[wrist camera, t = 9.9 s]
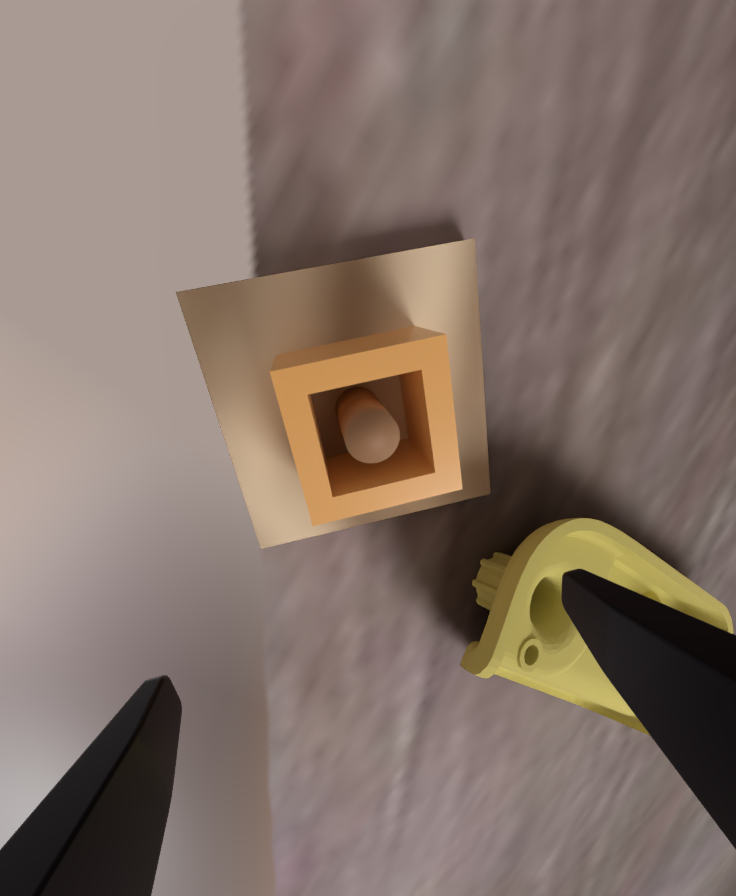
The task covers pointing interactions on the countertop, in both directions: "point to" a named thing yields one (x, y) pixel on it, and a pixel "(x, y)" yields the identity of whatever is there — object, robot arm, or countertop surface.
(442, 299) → the beige peg base
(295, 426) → the orange nut
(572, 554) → the plastic component
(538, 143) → the countertop surface
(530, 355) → the countertop surface
